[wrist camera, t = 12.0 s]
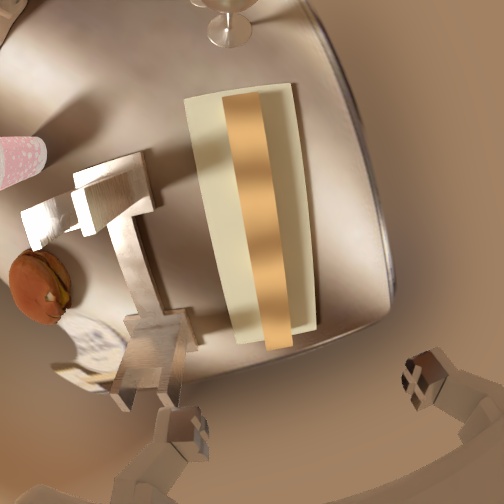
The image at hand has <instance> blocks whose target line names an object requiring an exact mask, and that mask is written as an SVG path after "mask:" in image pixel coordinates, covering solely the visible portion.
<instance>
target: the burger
mask: <svg viewBox="0 0 504 504" xmlns="http://www.w3.org/2000/svg"><path fill="white" fill-rule="evenodd" d="M9 284H10V290H11V293H12V296H13V298H14V301H15V303H16V305H17V306H18V308H19V309H20V310H21V311H22V312H23V313H24V314H25V315H26V316H28V317H29V318H31V319H33V320H34V321H36V322H39V323H41V324H47V325H51V324H56V323H57V321H59V320H60V318H61V315H63V314H64V313H65V312H66V311H65V310H66V308H67V309H68V308H70V307H71V297H70V287H71V281H70V278H69V275H68V273H67V271H66V269H65V268H64V266H63V264H61V263H60V262H59V261H58V259H57V258H56V257H55V256H53V255H52V254H50V253H48V252H46V251H42V252H39V251H36V250H35V251H33V250H30V249H28V250H25V251H23V252H22V253H21V254H20V255H19V256H18V258H16V259H15V260H14V262H13V263H12V265H11V268H10V271H9Z"/></svg>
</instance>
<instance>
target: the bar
mask: <svg viewBox="0 0 504 504" xmlns="http://www.w3.org/2000/svg"><path fill="white" fill-rule="evenodd" d="M222 102H223V108H224V114H225V119H226V125H227V131H228V136H229V142H230V148H231V154H232V159H233V165H234V171H235V176H236V182H237V188H238V193H239V199H240V205H241V210H242V216H243V222H244V227H245V233H246V238H247V244H248V250H249V255H250V261H251V267H252V272H253V278H254V283H255V289H256V294H257V300H258V306H259V311H260V317H261V322H262V328H263V333H264V339H265V344H266V350H267V351H268V350H274V349H279V348H284V347H289V346H293V342H292V332H291V323H290V313H289V304H288V295H287V286H286V278H285V270H284V261H283V253H282V246H281V238H280V230H279V223H278V215H277V208H276V201H275V194H274V187H273V180H272V173H271V167H270V160H269V154H268V147H267V141H266V135H265V129H264V123H263V117H262V111H261V105H260V99H259V93H258V92H251V93H244V94H237V95H231V96H225V97H222Z"/></svg>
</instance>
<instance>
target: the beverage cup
mask: <svg viewBox="0 0 504 504" xmlns="http://www.w3.org/2000/svg"><path fill="white" fill-rule="evenodd" d="M46 160H47V150H46V145H45V143H44V142H43V140H42V139H40V138H39V137H0V190H2V189H4V188H7V187H9V186H11V185H13V184H15V183H18V182H20V181H22V180H25V179H27V178H29V177H32V176H34V175H36V174H38V173H40V172H41V170H42V169H43V168H44V166H45V163H46Z"/></svg>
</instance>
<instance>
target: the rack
mask: <svg viewBox="0 0 504 504" xmlns="http://www.w3.org/2000/svg"><path fill="white" fill-rule="evenodd" d="M73 175H74V180H75V184H76V188H75V189H73V190H70V191H68V192H65V193H63V194H61V195H58V196H56V197H54V198H51V199H49V200H47V201H45V202H42V203H40V204H38V205H36V206H34V207H32V208H30V209H27V210H25V211H23V212H21V215H22V218H23V221H24V225H25V228H26V231H27V234H28V237H29V240H30V243H31V246H32V249H33V251H35V250H38V249H41V248H43V247H44V246H46V245H47V244H48V243H50V242H51V241H53V240H54V239H55V238H57V237H58V236H60V235H61V234H62V233H64V232H67V231H71V230H74V229H77V228H81V229H82V232H83V235H84V236H88V235H92V234H96V233H97V232H98V231H100V230H101V229H102V228H103V227H105V226H106V225H107V227H108V230H109V233H110V237H111V240H112V243H113V246H114V249H115V252H116V255H117V258H118V261H119V264H120V267H121V269H122V272H123V275H124V278H125V280H126V283H127V286H128V288H129V291H130V293H131V296H132V298H133V301H134V303H135V306H136V308H137V311H138V313H139V315H131V316H125V318H124V320H123V321H124V324H125V326H126V328H127V330H128V332H129V334H130V336H131V338H130V341H129V343H128V345H127V348H126V350H125V353H124V356H123V358H122V361H121V363H120V366H119V368H118V371H117V374H116V377H115V379H114V382H113V385H112V387H111V390H110V393H109V394H110V395H111V397H112V398H113V399H114V401H115V402H116V403H117V405H118V406H119V407H120V409H121V410H122V411H123V412H131V410H132V406H133V402H134V398H135V395H136V391H137V388H143V387H158V389H157V395H158V397H159V398H160V400H161V401H162V403H163V404H164V406H165V407H178V406H179V398H180V391H181V384H182V377H183V370H184V363H185V357H186V352H195V351H198V343H197V341H196V338H195V335H194V332H193V330H192V327H191V324H190V321H189V318H188V315H187V312H186V309H185V308H183V309H176V310H169V311H165V309H164V306H163V303H162V301H161V298H160V295H159V292H158V289H157V287H156V284H155V281H154V278H153V275H152V272H151V269H150V266H149V263H148V259H147V256H146V253H145V250H144V247H143V243H142V240H141V237H140V233H139V230H138V226H137V223H136V219H135V215H139V214H143V213H148V212H152V211H154V210H155V209H156V207H155V202H154V198H153V194H152V190H151V186H150V181H149V177H148V172H147V168H146V163H145V158H144V153H143V151H142V152H138V153H134V154H131V155H128V156H124V157H121V158H118V159H115V160H112V161H109V162H106V163H103V164H100V165H97V166H94V167H91V168H88V169H86V170H83V171H80V172H77V173H75V174H73Z"/></svg>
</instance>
